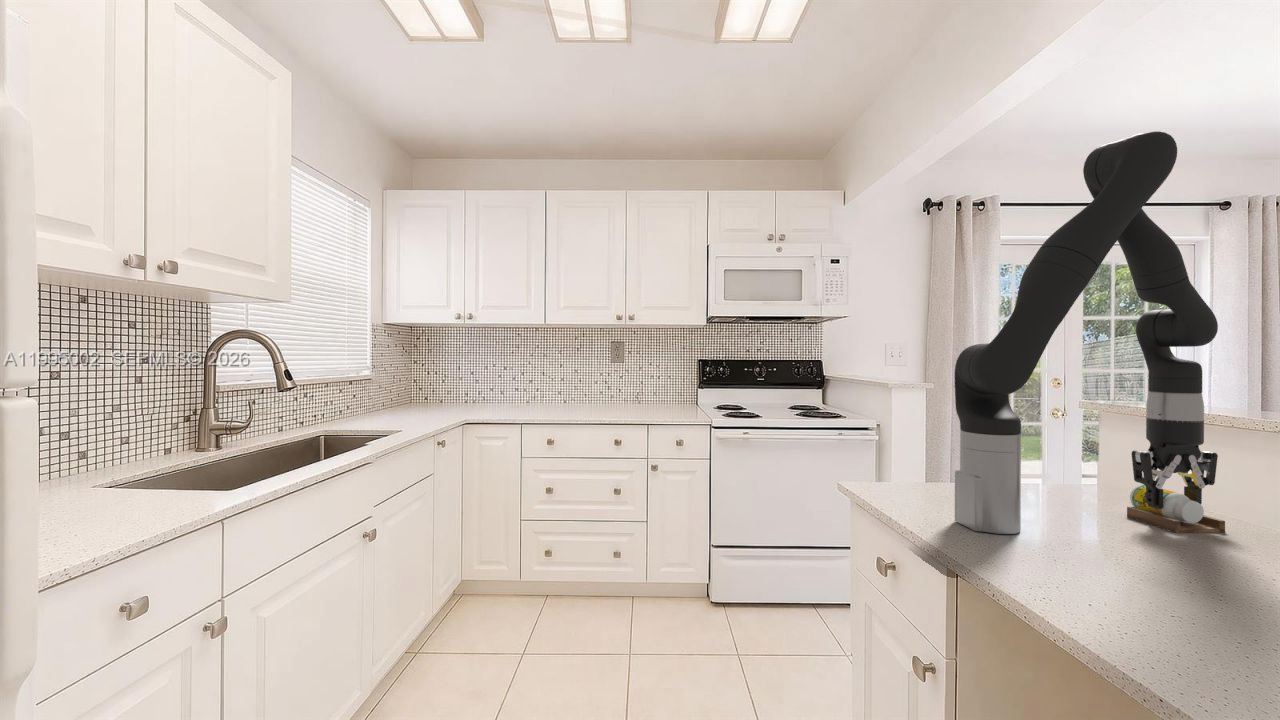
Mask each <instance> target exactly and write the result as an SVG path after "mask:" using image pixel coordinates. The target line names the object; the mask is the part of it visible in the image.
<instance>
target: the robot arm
mask: <svg viewBox="0 0 1280 720" xmlns="http://www.w3.org/2000/svg"><path fill="white" fill-rule="evenodd" d="M1177 158H1178V146H1177V142H1176V140H1175V138H1174V137H1173V135H1171V134H1169V133H1167V132H1163V131H1158V130H1157V131H1156V130H1155V131H1146V132H1142V133H1141V132H1140V133H1137V134H1134V135H1131V136H1127V137H1124V138H1122V139H1118V140H1115V141H1114V140H1113V141H1112V142H1108V143H1105V144H1103V145H1100V146H1098V147H1096V148H1095V149H1093V150H1092V151H1091V152H1090V153H1089V154H1088V155H1087V157H1086V159H1085V161H1084V163H1083V164H1084V165H1083V168H1082V171H1083V180H1084V181H1085V184H1086V187H1087V189H1088V191H1089V193H1090V195H1091V196H1092V198H1093V200H1092V201H1091V202H1090V203H1089V204H1088V205H1087V206H1085V207H1084V208H1083V209H1081V210H1080V211H1079V212H1078V213H1077V214H1075V215H1074V216H1072V218H1070V219H1069V220H1068V221H1067V222H1065V223H1064V224H1062V226H1060V227H1059V228H1057V229H1056V231H1054V232H1053V233H1052V234H1051V235H1049V237H1047V239H1046V240H1045V241H1044V242H1043V244H1042V245H1040V247H1039V248H1038V250H1037V252H1036V253H1035V255H1034V256H1033V258H1031V261H1030V262H1029V263H1028V265H1027V267H1026V268H1025V270H1024V272H1023V274H1022V276H1021V278H1020V282H1019V286H1018V291H1017V297H1016V304H1015V306H1014V308H1013V311H1012V313H1011V315H1010V317H1009V318H1008V319H1007V321H1006V323H1005V324H1004V325H1003V327H1002V328H1001V329H1000V331H999V332H998V333H997V335H996V336H994V337H993V339H991V341H990V342H989V343H988V342H987V343H978V344H977V343H975V344H972V345H970V346H968V347H966V348H964V350H962V351H961V352H960V354H959V355H958V357H957V359H956V362H955V367H954V397H955V402H954V403H955V411H956V414H957V417H958V419H959V420H958V421H959V426H960V428H959V433H960V434H959V435H960V436H959V438H960V439H959V469H958V470H957V469H956V470H955V472H954V522H956V523H957V524H960V525H962V526H964V527H967V528H968V529H970V530H972V531H974V532H982V533H983V532H984V533H989V534H999V535H1014V534H1018V533H1020V532H1021V527H1022V525H1021V523H1022V522H1021V521H1022V517H1021V516H1022V515H1021V510H1022V508H1021V507H1022V506H1021V505H1022V503H1021V502H1022V501H1021V500H1022V498H1021V497H1022V493H1021V492H1022V491H1021V490H1022V488H1021V487H1022V483H1021V481H1022V479H1021V478H1022V474H1021V473H1022V462H1021V461H1022V459H1021V458H1022V457H1021V456H1022V453H1021V452H1022V421H1021V418H1020V417H1019V416H1018V415H1017V414H1016V413H1015V412H1014V410H1013V408H1012V407H1011V405H1010V396H1009V395H1010V394H1013V393H1016V392H1017V391H1019V390H1020V389H1022V388H1023V387H1024V385H1026V384H1027V383H1028V382H1029V380H1030V378H1031V376H1033V375H1032V374H1034V371H1035V369H1036V367H1037V366H1038V364H1039V361H1040V359H1041V357H1042V356H1043V354H1044V351H1045V350H1046V348H1047V345H1048V344H1049V342H1050V340H1051V338H1052V337H1053V334H1054V333H1055V332H1056V330H1057V329H1058V327H1059V326H1060V324H1061V323H1062V321H1063V320H1064V319H1065V317H1066V316H1067V314H1068V313H1069V311H1070V310H1071V309H1072V307H1073V305H1074V304H1075V302H1076V301H1077V300H1078V298H1079V297H1080V295H1081V294H1082V293H1083V291H1084V290H1085V289H1086V287H1087V286H1088V285H1089V283H1090V281H1091V280H1092V278H1093V277H1094V276H1095V274H1096V273H1097V271H1098V270H1099V268H1100V267H1101V265H1102V263H1103V261H1104V260H1105V258H1106V257H1107V256H1108V254H1109V252H1110V251H1111V250H1112V248H1113V246H1115V245H1116V243H1117V242H1118V245H1119V246H1120V249H1121V250H1122V252H1123V255H1124V257H1125V261H1126V263H1127V266H1128V270H1129V272H1130V275H1131V278H1132V281H1133V284H1134V288H1135V291H1136V294H1137V297H1138V298H1139V299H1140V301H1143V302H1146V303H1153V304H1157V305H1158V304H1160V305H1163V306H1166V307H1167V308H1168V309H1154V310H1149V311H1146V312H1144V313H1143V314H1142V315H1140V317H1139V318H1138V321H1137V322H1136V325H1135V335H1136V338H1137V341H1138V344H1139V346H1140V349H1141V352H1142V354H1143V357H1144V360H1145V363H1146V367H1147V371H1148V376H1147V377H1148V383H1147V386H1148V389H1147V391H1148V392H1147V400H1146V404H1145V405H1146V406H1145V407H1146V409H1145V410H1146V416H1145V417H1146V418H1145V421H1146V422H1145V426H1146V427H1145V432H1146V433H1145V437H1146V438H1145V439H1146V440H1147V441H1149V444H1150V445H1149V447H1148V449H1147V450H1144V451H1142V450H1141V451H1140V450H1136V449H1135V450H1132V451H1131V461H1132V471H1133V480H1134V482H1135V483H1139V484H1140V485H1142V484H1144V485H1145V486H1146V502H1147V504H1148V506H1150V507H1153V508H1156V509H1162V508H1163V489H1164V488H1163V486H1164V485H1165V482H1166V481H1167V480H1168V479H1170V478H1171V477H1172V475H1173V474H1178V475H1179V476H1180V477H1181V479H1182V480H1183V482H1184V487H1183V495H1185V496H1187V497H1188V498H1189V499H1190V500H1192V501H1195V502H1198V503H1200V504H1201V505H1202V503H1203V502H1202V501H1203V500H1202V499H1203V494H1202V493H1203V492H1202V491H1203V489H1204V488H1205V487H1206V486H1213V485H1215V483H1216V476H1217V475H1216V474H1217V465H1218V453H1217V452H1212V451H1208V450H1207V451H1206V450H1200V447H1199V446H1202V445H1203V444H1204V443H1205V404H1204V399H1203V368H1202V365H1201V363H1199V362H1197V361H1193V360H1189V359H1183V358H1178V357H1176V356H1175V355H1174V353H1173V352H1172V350H1171V347H1172V348H1173V347H1176V348H1177V347H1178V348H1179V347H1180V348H1181V347H1182V348H1183V347H1187V348H1188V347H1202V346H1205V345H1207V344H1209V343H1211V342H1212V341H1213V340H1214V339H1215V338H1216V337H1217V334H1218V331H1219V330H1218V328H1219V326H1218V325H1219V324H1218V319H1217V318H1216V315H1215V313H1214V312H1213V311H1212V309H1211V308H1210V306H1209V304H1207V302H1205V300H1204V299H1203V298H1202V296H1201V295H1200V294H1199V292H1198V291H1197V289H1196V288H1195V287H1194V286H1193V284H1192V283H1191V281H1190V277H1189V273H1188V272H1187V271H1188V270H1187V267H1186V264H1185V261H1184V257H1183V255H1182V253H1181V250H1180V248H1179V247H1178V245H1177V244H1176V243H1175V241H1174V240H1173V239H1172V238H1171V237H1170V236H1169V235H1168V234H1167V233H1166V232H1165V231H1164V230H1163V229H1162V228H1161V227H1160V226H1158V224H1157V223H1155V222H1154V221H1153V220H1152V218H1150V217H1149V216H1148V215H1147V213H1146V212H1145V210H1144V209H1142V208H1144V206H1145V204H1147V202H1148V201H1149V200H1150V199H1151V198H1152V197H1153V195H1154V194H1155V193H1156V192H1157V191H1158V190H1159V188H1160V187H1161V186H1162V185H1163V184H1164V183H1165V181H1166V180H1167V178H1168V177H1169V176H1170V174H1171V173H1172V171H1173V169H1174V166H1175V164H1176V162H1177ZM1205 472H1206V474H1205ZM1161 488H1162V489H1161Z"/></svg>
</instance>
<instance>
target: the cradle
mask: <svg viewBox="0 0 1280 720" xmlns="http://www.w3.org/2000/svg"><path fill="white" fill-rule="evenodd" d="M1126 518H1129V519H1132V520H1135V521H1139V522H1141V523H1144V524H1147V525H1151V526H1154V527H1156V528H1161V529H1163V530H1166V531H1168V532H1171V533H1226V520H1224V519H1219V518H1215V517H1212V516H1208V515H1205V514H1204V515H1203V517H1202V519H1201V520H1200V521H1199V522H1197V523H1188V522H1184V521H1183V522H1180V521H1178V520H1175V519H1172V518H1168V517H1165V516H1162V515H1158V514H1155V513H1152V512H1148V511H1145V510H1142V509H1138V508H1135V507H1133V506H1126Z"/></svg>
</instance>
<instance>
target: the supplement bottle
mask: <svg viewBox="0 0 1280 720" xmlns="http://www.w3.org/2000/svg"><path fill="white" fill-rule="evenodd" d="M1161 489H1163V508H1162V509H1156V508H1153V507H1150V506H1148V504H1147V502H1146V486H1145V485H1144V484H1139V485H1137V486H1135V487H1133V488H1132V490H1131V492H1130V494H1129V500H1130V504H1131V505H1132V506H1131V507H1135V508H1138V509H1142V510H1145V511H1148V512H1152V513H1155V514H1158V515H1162V516H1165V517H1168V518H1172V519H1175V520H1178V521H1180V522H1183V521H1184V522H1188V523H1197V522H1199V521H1200V520H1201V519H1202V517H1203V515H1205V510H1204V507H1203V505H1202V503H1201V504H1200V503H1198V502H1195V501H1192V500H1190V499H1189V498H1188V497H1187V496H1185V495H1184V493H1183V494H1182V493H1180V492H1176V491H1173V490H1169V489H1166V488H1163V487H1162V488H1161Z"/></svg>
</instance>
